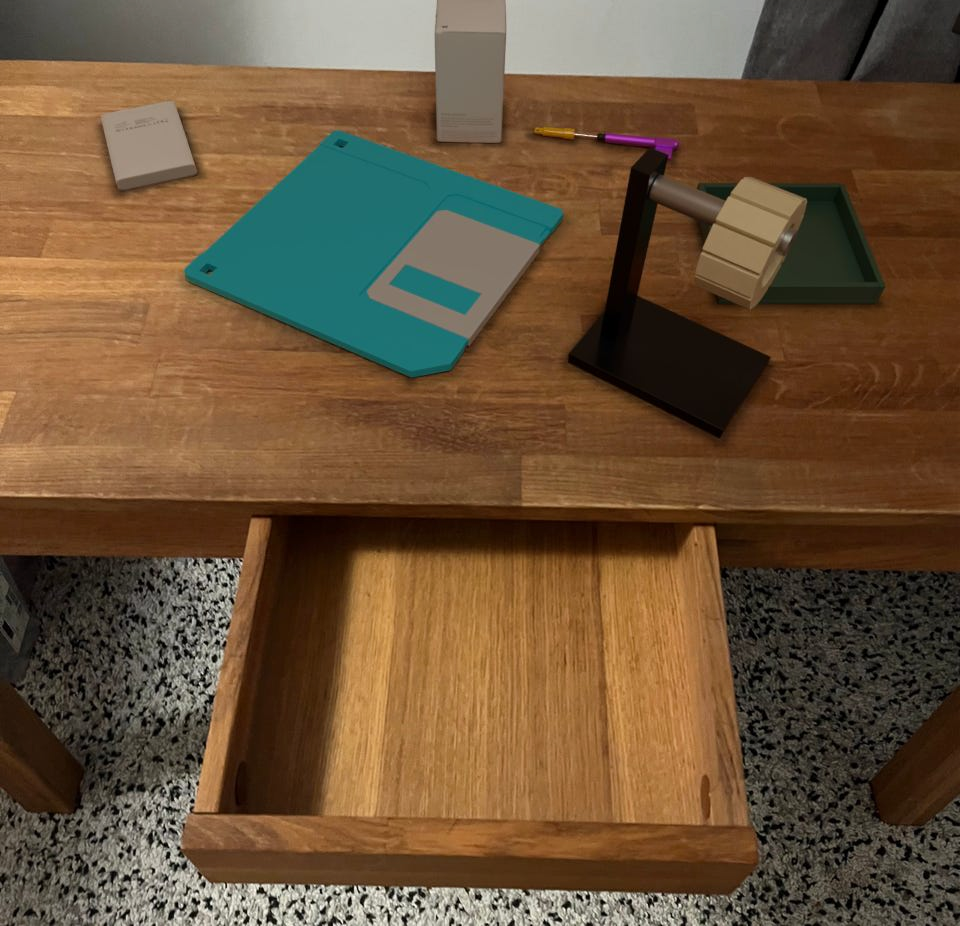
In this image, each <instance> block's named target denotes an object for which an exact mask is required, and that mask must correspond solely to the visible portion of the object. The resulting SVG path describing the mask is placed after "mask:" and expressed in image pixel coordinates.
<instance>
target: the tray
mask: <svg viewBox="0 0 960 926" xmlns="http://www.w3.org/2000/svg"><path fill="white" fill-rule="evenodd" d="M738 183H739V182H698V183H697V186H696V189H698V190H700V191H703V192H705V193H708V194H710V195H713V196H715V197H718V198H720V199H722V200H725V201H726V200H727V198H728V196H730V194H731V192H732V191H733V189H734V188H735V187H736V186H737V184H738ZM766 183H767V184H770V185H772V186H775V187H778V188H780V189H783V190H785V191H788V192H790V193H793V194H795V195H798V196H800V197H803V198H806V199H807V204H806V209H805V213H804V216H803V219H802V221H801V224H800V227H799V229H798V232H797V236H796V238H795V241H794V243H793V245H792V247H791V248H790V250H789V252H788V253H787V255H786V257H785V259H784V261H783V262H782V263H781V267H780V269H779V271H778V272H777V274H776V276H775V278H774V279H773V281H772V283H771V285H770V286H769V287H768V289H767V291H766V293H765V294H764V296H763V297H762V298H761V300H760V301H759V303H758V304H757V305H876V304H877V303H878V302H879V300H880V298H881V296H882V294H883V292H884V291H885V289H886V284H885V281H884V279H883V276H882V273H881V271H880V269H879V266H878V264H877V261H876V258H875V256H874V254H873V252H872V249H871V246H870V244H869V242H868V239H867V236H866V233H865V231H864V228H863V226H862V224H861V222H860V219H859V217H858V214H857V211H856V209H855V207H854V206H855V205H854V204H853V201H852V199H851V196H850V195H849V191H848V189H847V187H846V184H845V183H843V182H840V183H837V182H835V183H834V182H833V183H831V182H830V183H829V182H828V183H827V182H823V183H821V182H820V183H819V182H818V183H817V182H815V183H814V182H807V183H806V182H798V183H797V182H794V183H793V182H766ZM698 226H699V230H700V234H701V237H702V242H703V245H704V244H705V241H706V239H707V237H708V234H709V232H710V230H711V228H712V226H710V225H707V224H705V223H703V222H700V221H698ZM715 297H716V300H717V304H718V305H737V304H736V303H734V302H732V301H729V300H727V299H725V298H723V297H720V296H718V295H716V294H715Z"/></svg>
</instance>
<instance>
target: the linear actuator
mask: <svg viewBox="0 0 960 926" xmlns="http://www.w3.org/2000/svg"><path fill="white" fill-rule="evenodd" d="M534 134H536V135H537V134H538V135H542V136H543V137H552V138H559V139H560V138H561V139H563V140H571V141H574V140H575V136H577V137H585V138H586V137H587V138H596V141H598V142H604V143H607V144H608V143H609V144H617V145H625V146H626V145H627V146H636V147H644V148H645V147H647V148H653V149H655V150H658V151H661V152H663V153H666V154H668V160H667V162H671V161H672V155H673V153H674V151H675V150H677V149H679V147H680V141H678V140H677V139H675V138H667V137H658V136H655V137H649V136H641V135H631V134H622V133H621V134H620V133H611V132H606V133H602V132H598V133H597V134H596V135H595V134H594V135H593V134H585V133H576V129H575V128H570V127H564V128H562V127H553V126H543V127H539V126H537V127H536V126H535V127H534Z"/></svg>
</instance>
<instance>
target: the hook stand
mask: <svg viewBox="0 0 960 926" xmlns="http://www.w3.org/2000/svg"><path fill="white" fill-rule="evenodd" d="M667 160H668V154H666V153H663V152H661V151H658V150H655V149H654V148H653V147H648V149H647V150H646V151H645V152H644V153H643V154H642V155H641V156H640V157H639V158H638V159H637V161H635V162H634V163H633V164H632V165H631V167H630V170H629V176H628V182H627V187H626V193H625V199H624V204H623V207H622V209H623V210H622V214H621V220H620V225H619V231H618V236H617V241H616V247H615V252H614V258H613V264H612V269H611V275H610V280H609V285H608V290H607V296H606V302H605V308H604V311H603V312H602V313H601V314H600V316H599V317H598V318H597V319H596V320H595V321H594V323H593V324H592V325H591V327H590V328H588V330H587V331H586V333H585V334H584V335H583V337H581V339H580V340H579V341H578V342H577V343H576V344H575V346H573V348H572V349H571V350H570V351H569V353H568V356H567V363H568V364H570V365H573V366H574V367H576V368H578V369H579V370H582V371H584V372H586V373H589V374H590V375H592V376H594V377H596V378H599V379H600V380H602V381H604V382H607V383H608V384H610V385H613V386H614V387H616V388H618V389H620V390H623V391H624V392H626V393H629V394H630V395H631V396H634V397H636V398H638V399H641V400H642V401H644V402H646V403H648V404H650V405H652V406H654V407H656V408H658V409H660V410H661V411H664V412H666V413H668V414H670V415H672V416H674V417H676V418H678V419H680V420H681V421H684V422H686V423H688V424H690V425H692V426H694V427H696V428H698V429H700V430H702V431H704V432H705V433H708V434H710V435H712V436H713V437H716V438H718V439H720V438H722V436H723V435H724V433H725V432H726V430H727V428H728V427H729V426H730V424H731V422H732V421H733V419H734V417H735V416H736V415H737V413H738V411H739V410H740V408H741V407H742V405H743V404H744V402H745V401H746V399H747V397H749V395H750V393H751V392H752V390H753V388H754V387H755V385H756V384H757V382H758V381H759V379H760V378H761V376H762V374H763V373H764V372H765V370H766V368H767V367H768V365H769V363H770V361H771V358H772V357H771V356H770V355H768V354H766V353H764V352H761V351H759V350H757V349H755V348H753V347H750V346H749V345H746V344H744V343H742V342H740V341H737V340H735V339H733V338H730V337H729V336H727V335H724V334H723V333H720V332H718V331H715V330H713V329H711V328H709V327H707V326H705V325H703V324H700V323H699V322H696V321H694V320H692V319H691V318H690V319H689V318H687V317H686V316H683V315H681V314H679V313H677V312H674V311H672V310H670V309H668V308H665V307H663V306H662V305H659V304H657V303H655V302H653V301H651V300H648V299H646V298H644V297H641V296H640V295H638V294H639V290H640V285H641V280H642V276H643V272H644V267H645V263H646V259H647V254H648V250H649V245H650V240H651V237H652V231H653V226H654V222H655V218H656V213H657V209H658V205H660V206H661V207H662V206H663V207H664V208H667V209H670V210H672V211H674V212H677V213H678V214H681V215H684V216H686V217H689V218H691V219H693V220H696V221H698V222H699V221H700V222H703V223H705V224H707V225H710V226H712V225H713V224H715V223H716V217H717V216H718V214H719V212H720V210H721V209H722V207H723V205H724V203H725V200H722V199H720V198H718V197H715V196H713V195H710V194H708V193H705V192H703V191H700V190H698V189H697V188H695V187H693V186H691V185H688V184H685V183H683V182H681V181H679V180H675V179H673V178H671V177H669V176H665V174H666V173H665V172H666V169H667V168H666V167H667V164H668V161H667ZM797 232H798V230H796V229H794V228H791V227H790V228H789V229H788V230H787V232H786V233H785V235H784V237H783V238H782V240H781V242H780V244H779V245H778V247H777V249H776V251H775V253H777V254H779V255H781V256H786V255H787V253H788V252H789V250H790V248H791V247H792V245H793V243H794V241H795V238H796V236H797Z"/></svg>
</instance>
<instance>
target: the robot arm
mask: <svg viewBox="0 0 960 926" xmlns="http://www.w3.org/2000/svg"><path fill="white" fill-rule="evenodd" d="M951 33H953V34H956V35H958V36H960V11H959V12H958V14H957V17H956V19H955V20H954V23H953V26H952V28H951Z"/></svg>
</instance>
